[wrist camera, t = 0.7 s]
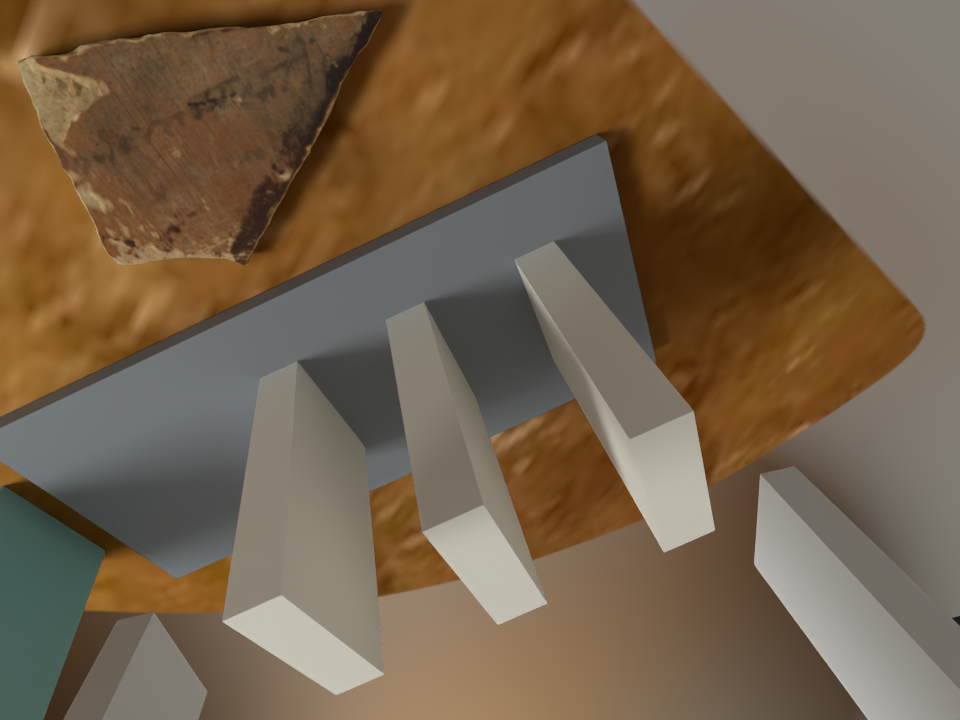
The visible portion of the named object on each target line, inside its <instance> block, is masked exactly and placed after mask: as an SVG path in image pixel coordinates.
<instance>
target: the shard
mask: <svg viewBox="0 0 960 720" xmlns="http://www.w3.org/2000/svg"><path fill="white" fill-rule="evenodd" d="M382 14H383V12H382V10H381V9H380V10H376V11H357V12H354V13H350V14H338V15H331V16H322V17H318V18H315V19H312V20H308V21H304V22H299V23H287V24H281V25H274V26H268V27H256V28H243V27H220V28H210V29H202V30H198V31H193V32H162V33H158V34H148V35H145V36H143V37H141V38H119V39H116V40H104V41H99V42H94V43H89V44H84V45H80V46H79V47H78V48H76V49H75V50H74V51H72V52H70V53H67V54H61V55H51V56H30V57H28V58H25V59H23V60H20V61H18V66H19V68H20V70H21V73H22V78H23V82H24V84H25V86H26V89H27V91H28V93H29V95H30V96H31V98H32V103H33V105H34V107H35V109H36V111H37V114H38V118H39V122H40V125H41V128H42V130H43V132H44V134H45V136H46V138H47V139H48V141H49V142H50V143H51V145H52V147H53V149H54V151H55V153H56V154H57V156H58V158H59V161H60V163H61V165H62V167H63V169H64V170H65V172H66V173H67V174H68V175H69V176H70V178H71V179H72V182H73V185H74V188H75V190H76V191H77V193H78V194H79V196H80V199H81V201H82V203H83V204H84V206H85V208H86V209H87V211H88V213H89V215H90V216H91V218H92V220H93V222H94V224H95V227H96V230H97V234H98V236H99V238H100V241H101V243H102V245H103V248H104V249H105V251H106V252H107V254H108V256H109V257H111V258H112V259H114V260H115V261H116V262H117V263H118V264H121V265H130V264H139V263H146V262H149V261H159V260H166V259H172V258H187V257H198V258H226V259H229V260H232V261H234V262H236V263H238V264H241V265H244V266H245V265H246V264H247V263H248V262H249V261H250V260H251V258H252V255H253V252H254V249H255V248H256V247H257V244H258V241H259V239H260V237H261V236H262V235H263V233H264V231H265V230H266V228H267V227H268V226H269V224H270V222H271V219H272V217H273V215H274V213H275V212H276V210H277V207H278V205H279V204H280V202H281V201H282V199H283V197H284V195H285V193H286V191H287V189H288V187H289V185H290V183H291V181H292V180H293V178H294V177H295V175H296V173H297V172H298V170H299V169H300V168H301V166H302V164H303V162H304V161H305V159H306V157H307V155H308V154H309V153H310V151H311V147H312V145H313V144H314V143H315V142H316V139H317V137H318V135H319V134H320V132H321V130H322V128H323V126H324V124H325V122H326V120H327V119H328V117H329V115H330V114H331V111H332V108H333V105H334V102H335V100H336V98H337V96H338V94H339V91H340V86H341V84H342V82H343V80H344V79H345V77H346V76H347V73H348V71H349V69H350V67H351V66H352V65H353V63H354V61H355V59H356V57H357V55H358V54H359V53H360V52H361V51H362V50H363V49H364V48H365V47H366V46H367V45H368V44H369V41H370V38H371V36H372V34H373V32H374V30H375V29H376V27H377V25H378V23H379V21H380V18H381V16H382Z"/></svg>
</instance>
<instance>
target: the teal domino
mask: <svg viewBox="0 0 960 720" xmlns="http://www.w3.org/2000/svg"><path fill="white" fill-rule="evenodd" d="M105 552H106V551H105V550H104V549H102V548H101V547H99V546H98V545H96V544H94V543H93V542H91V541H90V540H88V539H87V538H85V537H83V536H82V535H80V534H79V533H77V532H76V531H74V530H72V529H71V528H69V527H68V526H66V525H65V524H63V523H61V522H60V521H58V520H57V519H55V518H54V517H52V516H51V515H49V514H47V513H46V512H44V511H43V510H41V509H40V508H38V507H36V506H35V505H33V504H32V503H30V502H29V501H27V500H25V499H24V498H22V497H21V496H19V495H18V494H16V493H14V492H13V491H11V490H10V489H8V488H7V487H5V486H2V487H0V720H43V719H44V716H45V713H46V710H47V708H48V705H49V702H50V700H51V697H52V694H53V692H54V689H55V686H56V683H57V681H58V678H59V675H60V673H61V670H62V667H63V665H64V662H65V659H66V656H67V654H68V651H69V648H70V646H71V643H72V640H73V638H74V635H75V632H76V630H77V627H78V624H79V621H80V619H81V616H82V614H83V611H84V608H85V605H86V603H87V600H88V597H89V595H90V592H91V589H92V587H93V584H94V581H95V579H96V576H97V573H98V570H99V568H100V565H101V562H102V560H103V557H104V554H105Z"/></svg>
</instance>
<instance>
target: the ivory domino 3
mask: <svg viewBox="0 0 960 720" xmlns="http://www.w3.org/2000/svg"><path fill="white" fill-rule="evenodd" d="M515 262H516V265H517V267H518V270H519V273H520V275H521V278H522V280H523V283H524V286H525V288H526V291H527V293H528V296H529V298H530V301H531V304H532V306H533V309H534V311H535V314H536V317H537V319H538V322H539V324H540V327H541V330H542V332H543V335H544V337H545V340H546V342H547V345H548V348H549V350H550V353H551V355H552V358H553V361H554V362H555V364H556V366H557V367H558V369H559V371H560V373H561V374H562V376H563V378H564V380H565V381H566V383H567V385H568V387H569V388H570V390H571V392H572V394H573V395H574V397H575V399H576V400H577V402H578V404H579V406H580V407H581V409H582V411H583V413H584V414H585V416H586V418H587V420H588V421H589V423H590V425H591V426H592V428H593V430H594V432H595V433H596V435H597V437H598V439H599V440H600V442H601V444H602V446H603V447H604V449H605V451H606V452H607V454H608V456H609V458H610V459H611V461H612V463H613V465H614V466H615V468H616V470H617V472H618V473H619V475H620V477H621V479H622V480H623V482H624V484H625V485H626V487H627V489H628V491H629V492H630V494H631V496H632V498H633V499H634V501H635V503H636V505H637V506H638V508H639V510H640V511H641V513H642V515H643V517H644V518H645V520H646V522H647V524H648V525H649V527H650V529H651V531H652V532H653V534H654V536H655V538H656V539H657V541H658V543H659V544H660V546H661V548H662V550H663V551H664V552H666V551H669V550H671V549H673V548H675V547H678V546H680V545H682V544H685V543H687V542H689V541H692V540H694V539H696V538H698V537H701V536H703V535H705V534H708V533H710V532H712V531H714V530H715V528H714V523H713V517H712V511H711V505H710V500H709V494H708V489H707V483H706V478H705V472H704V467H703V461H702V455H701V450H700V444H699V439H698V433H697V428H696V422H695V416H694V411H693V410H692V409H691V407H690V406H689V405H688V404H687V402H686V401H685V400H684V399H683V398H682V396H681V395H680V394H679V393H678V392H677V390H676V389H675V388H674V387H673V385H672V384H671V383H670V382H669V381H668V379H667V378H666V377H665V376H664V375H663V373H662V372H661V371H660V370H659V368H658V367H657V366H656V365H655V364H654V362H653V361H652V360H651V359H650V358H649V356H648V355H647V354H646V353H645V351H644V350H643V349H642V348H641V347H640V345H639V344H638V343H637V342H636V341H635V339H634V338H633V337H632V336H631V334H630V333H629V332H628V331H627V330H626V328H625V327H624V326H623V325H622V324H621V322H620V321H619V320H618V319H617V318H616V316H615V315H614V314H613V313H612V311H611V310H610V309H609V308H608V307H607V305H606V304H605V303H604V302H603V301H602V299H601V298H600V297H599V296H598V294H597V293H596V292H595V291H594V290H593V288H592V287H591V286H590V285H589V284H588V282H587V281H586V280H585V279H584V277H583V276H582V275H581V274H580V273H579V271H578V270H577V269H576V268H575V267H574V265H573V264H572V263H571V262H570V260H569V259H568V258H567V257H566V256H565V254H564V253H563V252H562V251H561V250H560V248H559V247H558V246H557V245H556V243H555V242H554V241H553V242H551V243H549V244H547V245H545V246H542V247H540V248H538V249H536V250H534V251H532V252H530V253H527V254H525V255H523V256H521V257H519V258H517V259H515Z"/></svg>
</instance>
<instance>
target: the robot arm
mask: <svg viewBox="0 0 960 720" xmlns="http://www.w3.org/2000/svg"><path fill="white" fill-rule="evenodd" d="M754 565H755V566H756V568H757V569H758V570H759V572H760V573H761V574H762V576H763V577H764V578H765V580H766V581H767V583H768V584H769V585H770V587H771V588H772V589H773V591H774V592H775V594H776V595H777V596H778V597H779V599H780V600H781V602H782V603H783V604H784V606H785V607H786V609H787V610H788V611H789V613H790V614H791V615H792V617H793V618H794V619H795V621H796V622H797V623H798V625H799V626H800V627H801V629H802V630H803V632H804V633H805V634H806V636H807V637H808V638H809V640H810V641H811V643H812V644H813V645H814V647H815V648H816V649H817V651H818V652H819V653H820V655H821V656H822V657H823V659H824V660H825V662H826V663H827V664H828V666H829V667H830V668H831V670H832V671H833V672H834V674H835V675H836V676H837V678H838V679H839V680H840V682H841V683H842V685H843V686H844V687H845V689H846V690H847V691H848V693H849V694H850V696H851V697H852V698H853V700H854V701H855V702H856V704H857V705H858V706H859V707H860V709H861V710H862V712H863V713H864V715H865V716H866V717H867V719H868V720H960V616H958V617H955V618H951V617H950V616H949V615H948V614H947V613H946V612H945V611H944V610H943V609H942V608H941V607H940V606H938V604H937V603H936V602H935V601H934V600H932V599H931V598H930V597H929V596H928V595H927V594H926V593H925V592H924V591H923V590H922V589H921V588H920V587H919V586H918V585H917V584H916V583H915V582H914V581H913V580H912V579H911V578H910V577H909V576H908V575H907V574H906V573H904V572H903V571H902V570H901V569H900V568H899V567H898V566H897V565H896V564H895V563H894V562H893V561H892V560H891V559H890V558H889V557H888V556H887V555H886V554H885V553H884V552H883V551H882V550H881V549H880V548H879V547H877V545H875V544H874V543H873V542H872V541H871V540H870V539H869V538H868V537H867V536H866V535H865V534H864V533H863V532H862V531H861V530H860V529H859V528H858V527H857V526H856V525H855V524H854V523H852V521H851V520H850V519H849V518H848V517H846V516H845V515H844V514H843V513H842V512H841V511H840V510H839V509H838V508H837V507H836V506H835V505H834V504H833V503H832V502H831V501H830V500H829V499H828V498H827V497H826V496H825V495H824V494H823V493H821V491H820V490H818V489H817V488H816V487H815V486H814V485H813V484H812V483H811V482H810V481H809V480H808V479H807V478H806V477H805V476H804V475H803V474H802V473H801V472H800V471H799V470H798V469H797V468H795V467H789V468H786V469H781V470H777V471H772V472H768V473H763V474H760V486H759V502H758V516H757V531H756V546H755V560H754ZM206 694H207V691H206V689H205V688H204V686H203V685H202V683H201V682H200V680H199V679H198V677H197V676H196V674H195V673H194V671H193V670H192V668H191V667H190V665H189V664H188V662H187V661H186V659H185V658H184V656H183V655H182V653H181V652H180V650H179V649H178V647H177V646H176V644H175V643H174V642H173V640H172V638H171V637H170V636H169V634H168V633H167V631H166V630H165V628H164V627H163V625H162V624H161V622H160V621H159V619H158V618H157V616H156V615H155V613H154V612H153V613H149V614H145V615H140V616H135V617H131V618H127V619H122V620H118V621H117V622H116V624H115V626H114V628H113V630H112V632H111V633H110V635H109V637H108V639H107V641H106V642H105V644H104V646H103V648H102V650H101V652H100V653H99V655H98V657H97V659H96V661H95V663H94V665H93V666H92V668H91V670H90V672H89V674H88V675H87V677H86V679H85V681H84V683H83V685H82V686H81V688H80V690H79V692H78V694H77V696H76V698H75V699H74V701H73V703H72V705H71V707H70V708H69V710H68V712H67V714H66V716H65V718H64V720H198V718H199V715H200V712H201V709H202V706H203V703H204V700H205V697H206Z"/></svg>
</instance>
